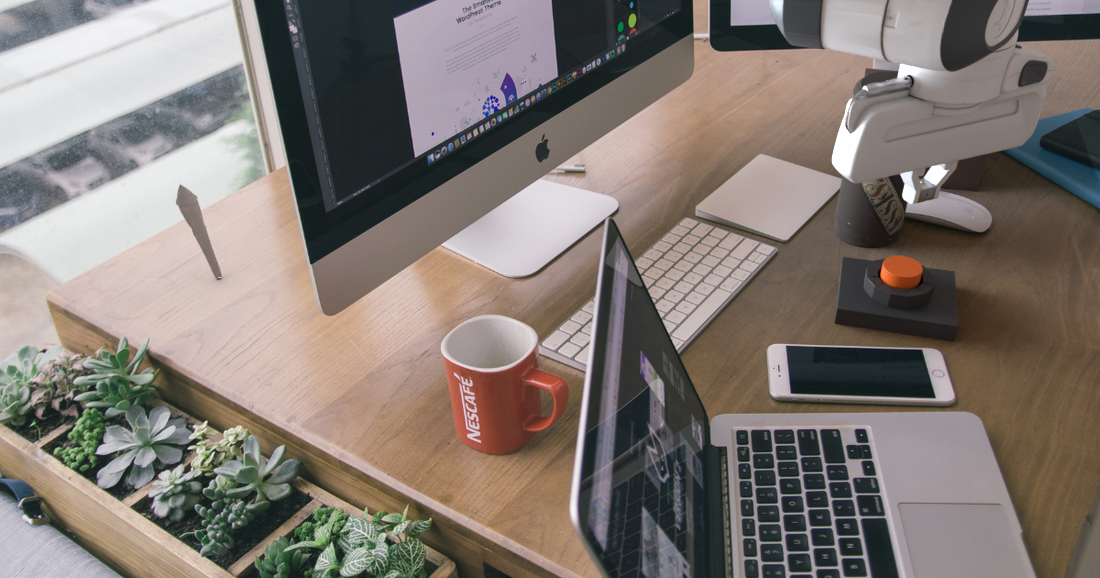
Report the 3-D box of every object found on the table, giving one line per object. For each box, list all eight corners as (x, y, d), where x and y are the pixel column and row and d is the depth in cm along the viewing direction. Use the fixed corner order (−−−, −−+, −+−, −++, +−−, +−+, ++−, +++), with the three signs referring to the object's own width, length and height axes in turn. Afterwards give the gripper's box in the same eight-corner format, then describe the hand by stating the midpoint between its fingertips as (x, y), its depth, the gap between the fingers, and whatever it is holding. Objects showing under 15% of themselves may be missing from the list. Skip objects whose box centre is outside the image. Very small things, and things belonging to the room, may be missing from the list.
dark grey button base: (834, 324, 85) (839, 295, 83) (839, 271, 92) (844, 243, 90) (954, 342, 81) (963, 313, 79) (950, 286, 89) (958, 257, 86)
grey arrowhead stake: (210, 286, 100) (170, 192, 91) (207, 276, 102) (168, 183, 93) (230, 280, 101) (192, 186, 92) (227, 269, 103) (189, 177, 94)
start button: (879, 287, 84) (882, 274, 83) (880, 266, 87) (883, 253, 86) (919, 292, 83) (923, 279, 82) (919, 271, 86) (922, 258, 84)
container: (820, 238, 98) (844, 88, 86) (843, 205, 104) (869, 60, 92) (890, 257, 94) (926, 102, 82) (911, 221, 99) (947, 72, 87)
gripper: (872, 101, 66) (846, 237, 74) (1073, 59, 69) (1026, 193, 78) (830, 75, 71) (810, 205, 79) (1020, 37, 74) (981, 165, 83)
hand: (919, 199), depth 78 cm, fingers closed
